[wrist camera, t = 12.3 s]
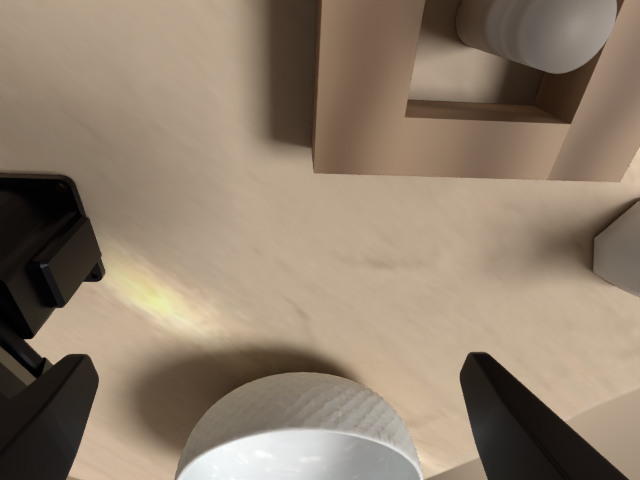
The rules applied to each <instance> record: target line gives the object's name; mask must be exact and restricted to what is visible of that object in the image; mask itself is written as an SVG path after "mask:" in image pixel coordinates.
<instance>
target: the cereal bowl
mask: <svg viewBox="0 0 640 480" xmlns="http://www.w3.org/2000/svg"><path fill="white" fill-rule="evenodd" d="M174 480H423V472H422V469H421V465H420V461H419V458H418V455H417V451H416V448H415V446H414V444H413V440H412V438H411V436H410V434H409V431H408V429H407V427H406V426H405V424H404V422H403V420H402V418H400V416H399V415H398V413H397V411H395V410H394V409H393V407H392V406H391V405H390V404H388V403H387V402H386V401H385V399H384V398H383V397H381V396H379V395H378V394H377V393H375V392H374V391H372V390H371V389H369V388H367V387H365V386H363V385H362V384H359V383H356V382H355V381H352V380H348V379H346V378H343V377H339V376H334V375H329V374H322V373H316V372H313V373H309V372H299V373H297V372H295V373H283V374H276V375H272V376H268V377H264V378H261V379H257V380H254V381H252V382H249V383H246V384H244V385H243V386H241V387H239V388H236V389H234V390H233V391H232V392H230V393H228V394H226V395H225V396H224V397H223V398H221V399H220V400H218V401H217V402H216V403H215V404H214V405H213V406H211V407H210V408H209V410H208V411H207V412H206V413H204V415H203V416H202V418H201V419H200V420H199V421H198V422H197V424H196V426H195V427H194V428H193V430H192V432H191V434H190V436H189V438H188V439H187V441H186V445H185V447H184V449H183V451H182V455H181V458H180V460H179V463H178V468H177V471H176V474H175V479H174Z"/></svg>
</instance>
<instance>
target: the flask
mask: <svg viewBox="0 0 640 480" xmlns="http://www.w3.org/2000/svg"><path fill="white" fill-rule="evenodd" d="M593 272H594V273H595V274H597V275H598V276H600V277H602V278H603V279H605V280H606V281H608V282H610V283H611V284H613V285H615V286H616V287H618V288H619V289H622V290H624V291H626V292H628V293H631V294H633V295H635V296H638V297H640V201H638V202H637V203H636V204H634V205H633V206H632V207H631V208H630V209H629V210H627V211H626V212H625V213H624V214H623V215H621V216H620V217H619V218H618V219H617V220H615V221H614V222H613V223H612V224H611V225H610V226H608V227H607V228H606V229H605V230H604V231H602V232H601V233H600V234H599V235H598V236H596V237H595V238H594V262H593Z"/></svg>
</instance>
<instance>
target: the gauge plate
mask: <svg viewBox="0 0 640 480" xmlns="http://www.w3.org/2000/svg"><path fill="white" fill-rule="evenodd" d="M424 6H425V0H318V10H317V33H316V56H315V79H314V102H313V125H312V159H313V170H314V173H325V174H358V175H392V176H426V177H460V178H494V179H528V180H562V181H596V182H620V181H621V179H622V177H623V176H624V174H625V172H626V170H627V168H628V167H629V165H630V163H631V161H632V159H633V158H634V156H635V154H636V152H637V150H638V149H639V147H640V0H462V1H461V3H460V5H459V8H458V10H457V14H456V22H455V23H456V31H457V34H458V36H459V38H460V39H461V41H462V42H463V43H464V44H466V45H468V46H470V47H473V48H476V49H479V50H482V51H485V52H488V53H491V54H494V55H497V56H500V57H503V58H506V59H509V60H512V61H515V62H518V63H521V64H524V65H527V66H530V67H533V68H536V69H539V70H542V71H545V73H544V75H543V78H542V81H541V84H540V86H539V89H538V92H537V95H536V97H535V100H534V103H533V105H512V104H489V103H467V102H445V101H423V100H408V95H409V89H410V84H411V78H412V73H413V67H414V61H415V56H416V50H417V45H418V39H419V33H420V28H421V22H422V17H423V11H424Z"/></svg>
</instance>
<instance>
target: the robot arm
mask: <svg viewBox="0 0 640 480" xmlns="http://www.w3.org/2000/svg"><path fill="white" fill-rule="evenodd" d="M60 184H63V185H64V186H65V187H66V188H67V189H64V188H62V187H61V186H60ZM93 272H95V273H97V274H95V273H93ZM104 275H105V269H104V266H103V263H102V260H101V252H100V249H99V246H98V243H97V240H96V237H95V234H94V231H93V228H92V225H91V222H90V219H89V218H88V217H87V216H86V213H85V211H84V208H83V205H82V202H81V199H80V196H79V193H78V190H77V187H76V185H75V183H74V181H73V180H72V179H70V178H69V177H67V176H61V175H24V174H0V480H66V478H67V476H68V474H69V471H70V469H71V467H72V464H73V462H74V459H75V457H76V454H77V452H78V449H79V446H80V443H81V439H82V436H83V433H84V430H85V427H86V423H87V420H88V417H89V414H90V410H91V407H92V404H93V401H94V398H95V394H96V391H97V388H98V383H99V377H98V374H97V371H96V369H95V367H94V365H93V362H92V360H91V358H90V356H88V355H87V354H70V355H67V356H65V357H64V358H62V359H61V360H60V361H58V362H57V363H56V364H55V365H53V364H52V363H51V362H50V361H49V360H48V359H47V358H42V357H41V356H40V355H39V354H38V353H37V352H36V351H35V350H34V349H33V348H32V347H31V346H30V345H29V344H28V343H27V342H26V341H25V340H24V339H32V338H33V337H34V336H35V335H36V333H37V332H38V331H39V329H40V328H41V327H42V326H43V324H44V323H45V322H46V320H47V319H48V318H49V316H50V315H51V314H52V312H53V311H54V310H55V308H63V307H64V306H65V305H66V304H67V303H68V301H69V300H70V299H71V297H72V296H73V294H74V293H75V292H76V290H77V289H78V288H79V286H80V285H81V284H82V282H98V281H100V280H102V278H103V277H104ZM460 383H461V387H462V391H463V396H464V400H465V404H466V408H467V412H468V416H469V420H470V424H471V428H472V432H473V436H474V440H475V444H476V447H477V450H478V453H479V456H480V459H481V461H482V464H483V467H484V470H485V473H486V476H487V478H488V480H629V479H628V478H627V477H626V476H624V475H623V474H622V473H621V472H620V471H619V470H618V469H617V468H615V467H614V466H613V465H612V464H611V463H610V462H609V461H608V460H607V459H606V458H604V457H603V456H602V455H601V454H600V453H599V452H598V451H596V450H595V449H594V448H593V447H592V446H591V445H590V444H589V443H588V442H587V441H585V440H584V439H583V438H582V437H581V436H580V435H579V434H578V433H576V432H575V431H574V430H573V429H572V428H571V427H570V426H569V425H568V424H566V423H565V422H564V421H563V420H562V419H561V418H560V417H559V416H558V415H556V414H555V413H554V412H553V411H552V410H551V409H550V408H549V407H547V406H546V405H545V404H544V403H543V402H542V401H541V400H540V399H539V398H537V397H536V396H535V395H534V394H533V393H532V392H531V391H530V390H528V389H527V388H526V387H525V386H524V385H523V384H522V383H521V382H520V381H518V380H517V379H516V378H515V377H514V376H513V375H512V374H511V373H510V372H508V371H507V370H506V369H505V368H504V367H503V366H502V365H501V364H499V363H498V362H497V361H496V360H495V359H494V358H493V357H492V356H491V355H489V354H488V353H486V352H470V353H469V354H468V355H467V357H466V360H465V362H464V364H463V367H462V369H461V372H460Z"/></svg>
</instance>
